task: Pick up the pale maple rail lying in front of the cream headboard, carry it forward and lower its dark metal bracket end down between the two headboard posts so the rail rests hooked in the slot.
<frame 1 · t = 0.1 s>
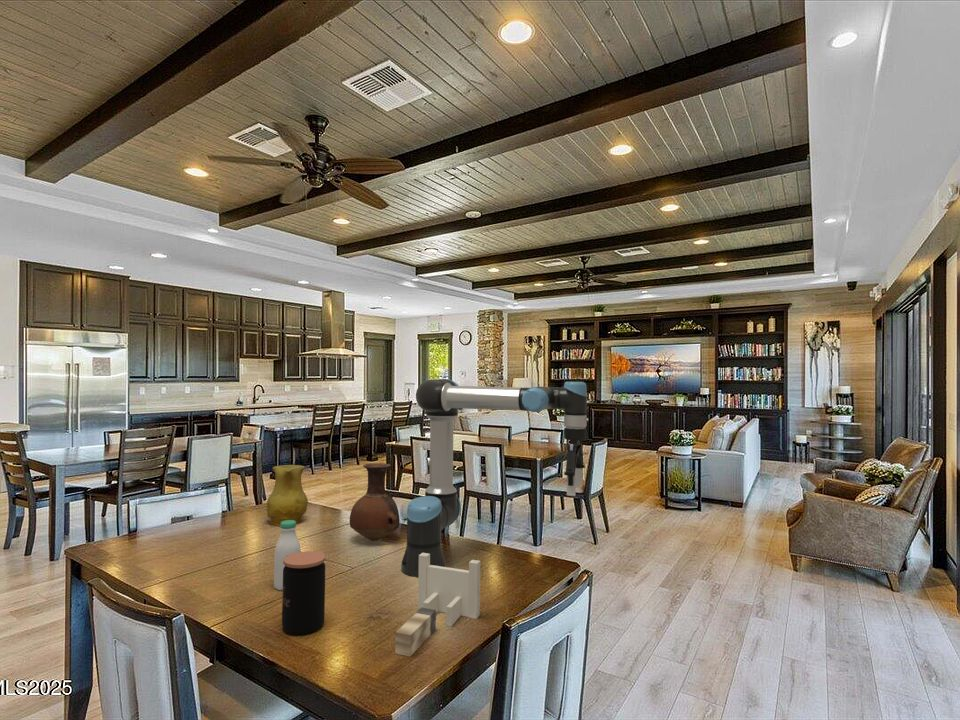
hand: (574, 491, 179), 28 cm above the table, fingers open, 13 cm apart
coffee jar: (303, 627, 141), on the table
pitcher: (288, 522, 238), on the table
vase: (374, 540, 214), on the table
rail: (416, 641, 134), on the table
headboard: (448, 611, 151), on the table
milk bottle: (287, 586, 167), on the table
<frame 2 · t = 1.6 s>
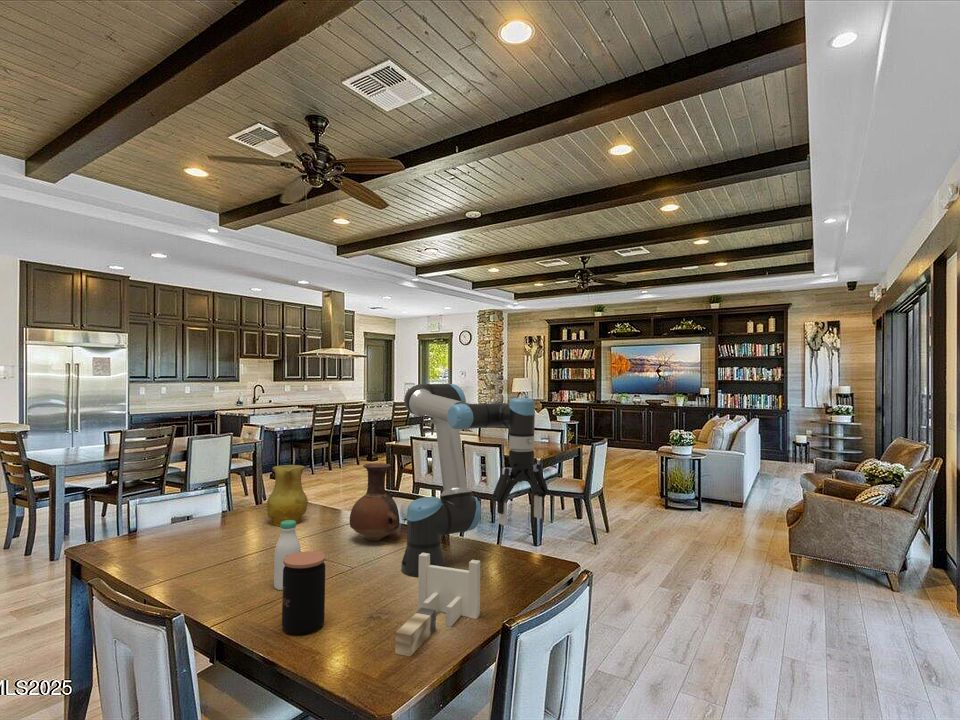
hand: (520, 521, 160), 23 cm above the table, fingers open, 13 cm apart
nothing on the table moved.
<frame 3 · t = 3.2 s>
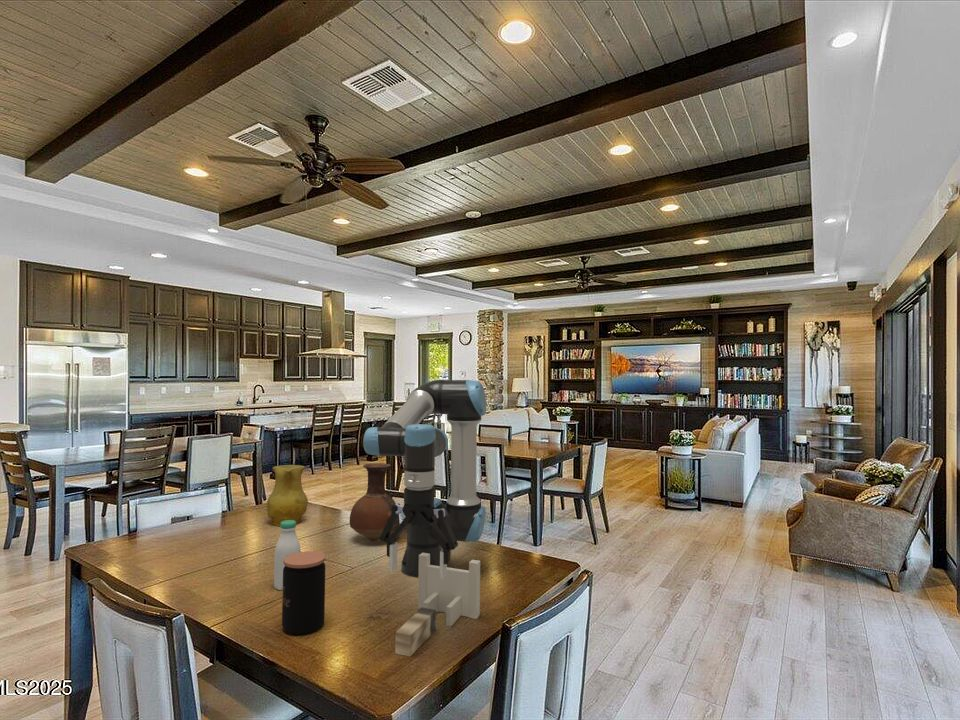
hand: (417, 573, 133), 17 cm above the table, fingers open, 13 cm apart
nothing on the table moved.
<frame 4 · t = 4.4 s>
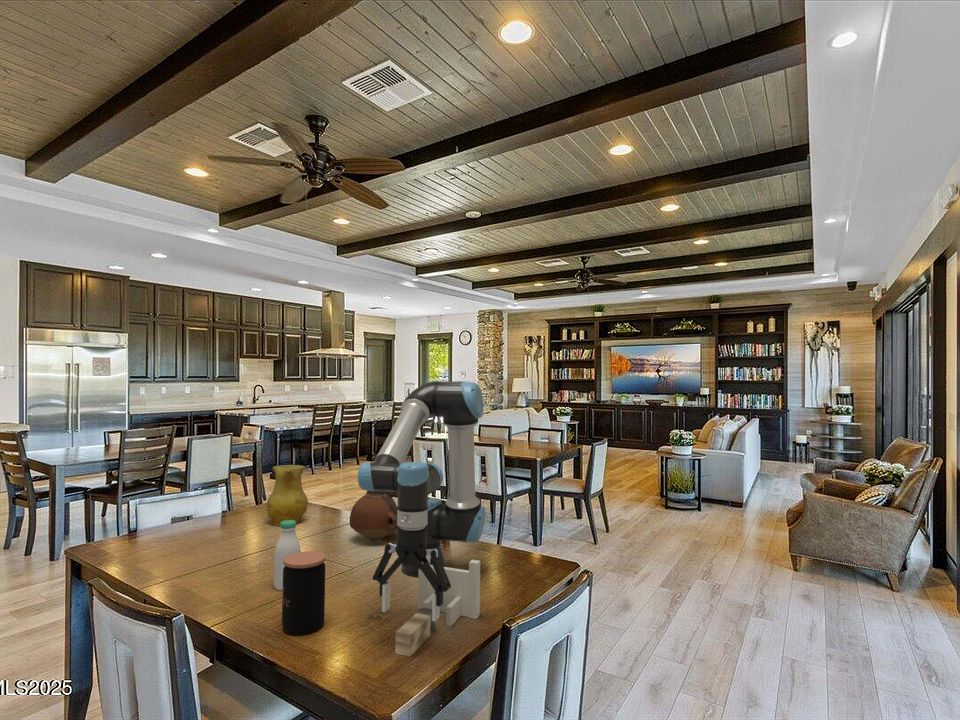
hand: (410, 614, 131), 8 cm above the table, fingers open, 13 cm apart
nothing on the table moved.
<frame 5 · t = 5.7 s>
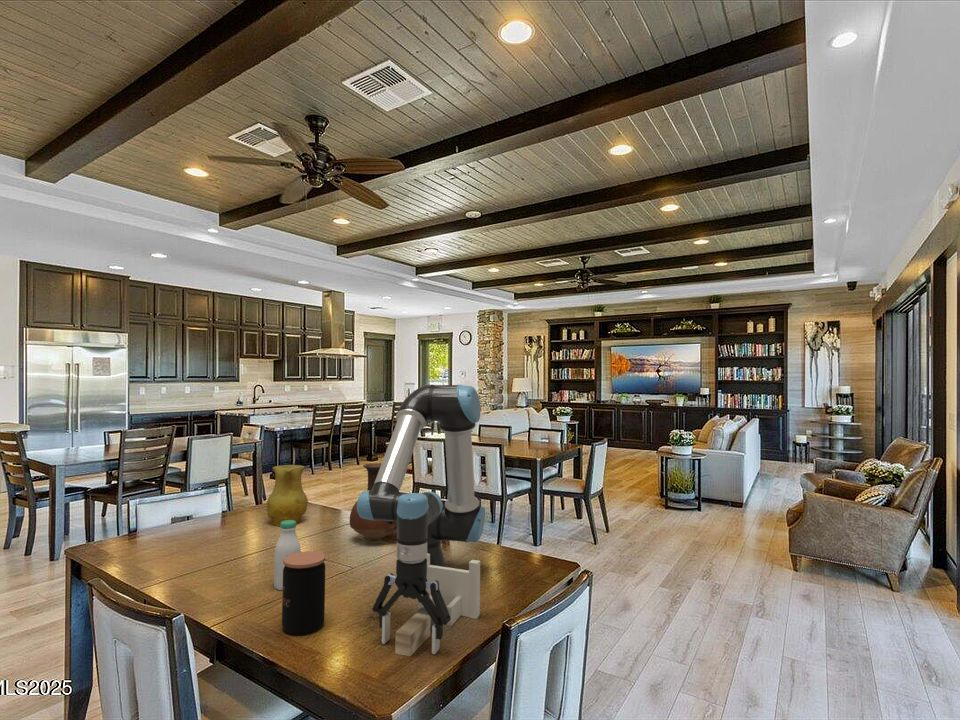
hand: (410, 646, 131), 0 cm above the table, fingers open, 13 cm apart
nothing on the table moved.
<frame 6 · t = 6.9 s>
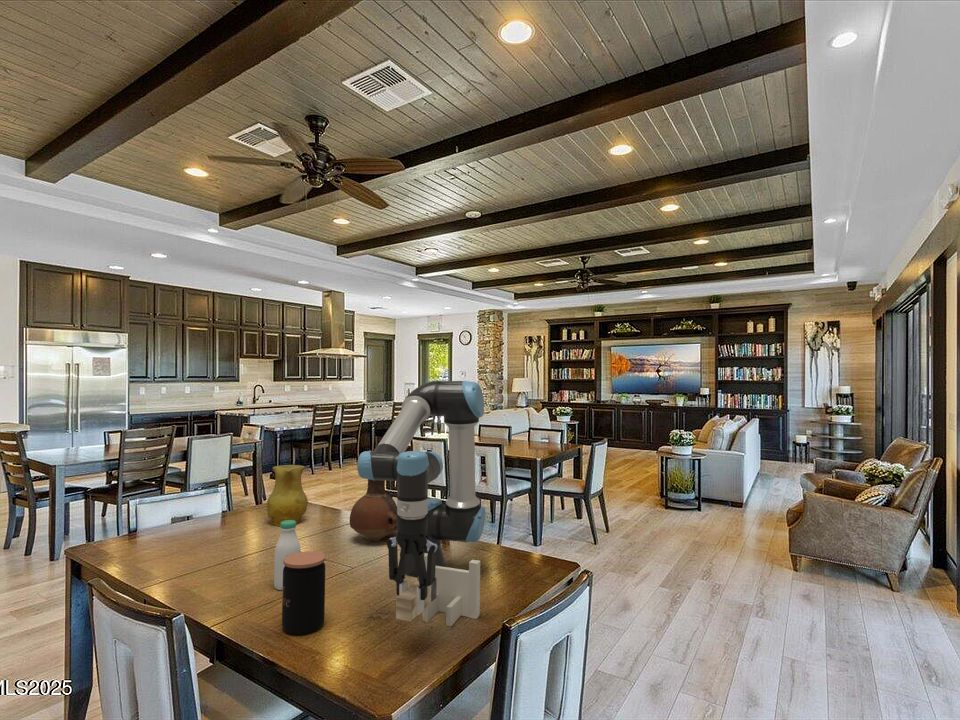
hand: (411, 610, 132), 9 cm above the table, fingers closed on rail, 4 cm apart
rail: (416, 607, 135), point 8 cm above the table, touching gripper
everything else where it was.
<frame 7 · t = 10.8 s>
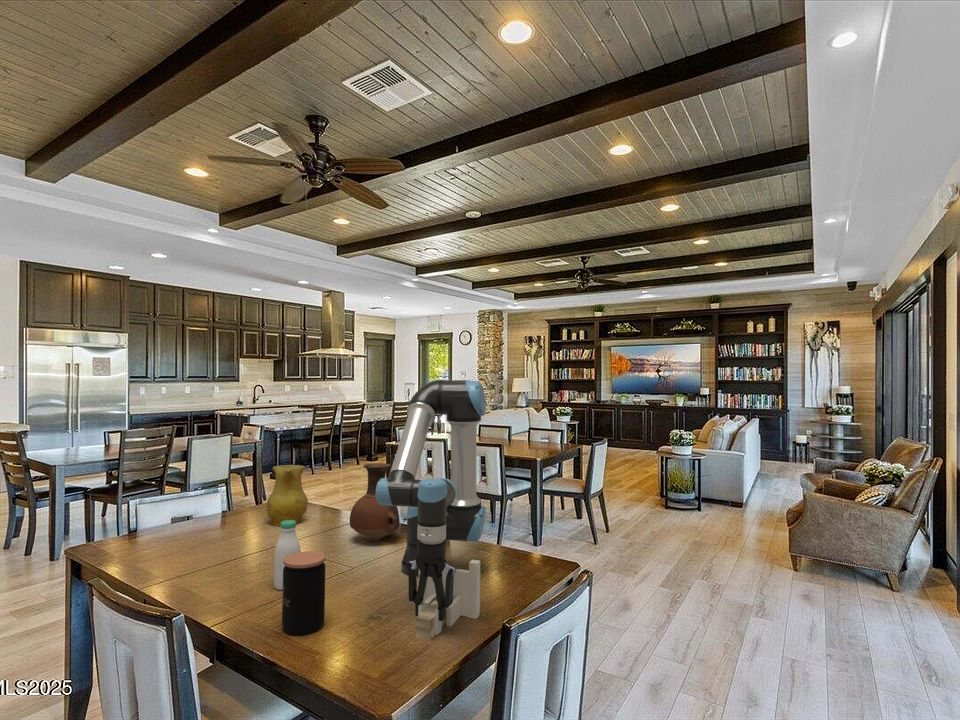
hand: (429, 630, 139), 0 cm above the table, fingers open, 4 cm apart
rail: (434, 626, 142), on the table, touching gripper
everything else where it was.
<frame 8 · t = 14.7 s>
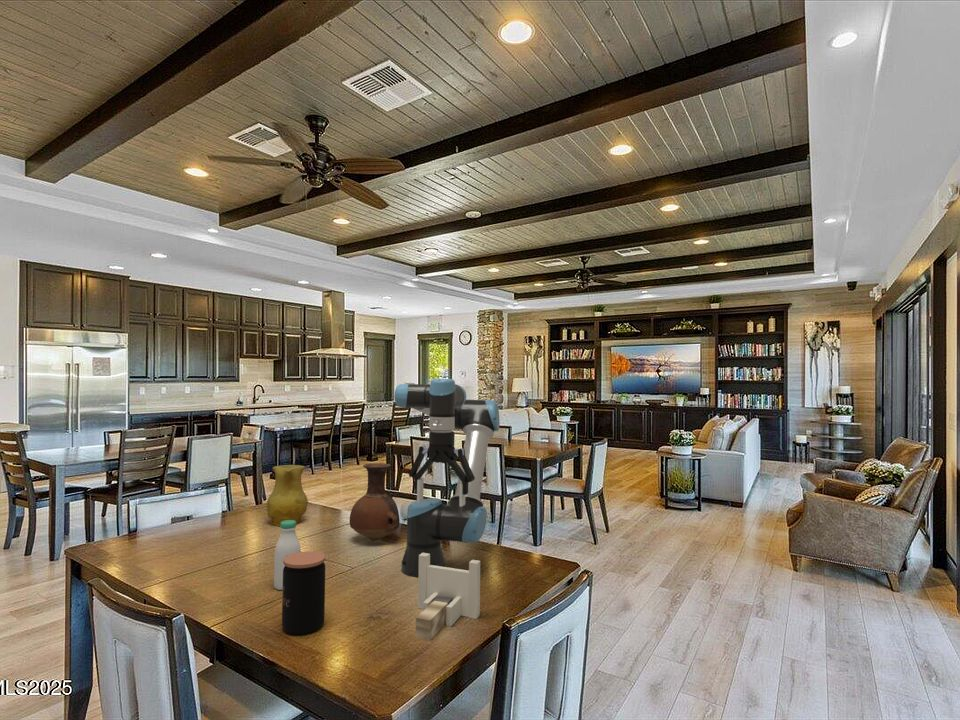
hand: (440, 503, 158), 29 cm above the table, fingers open, 13 cm apart
rail: (434, 626, 142), on the table
everything else where it was.
at the end: rail inside the target area (0.4 cm from its centre), on the table; rail tilted 0°; the gripper is holding nothing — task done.
